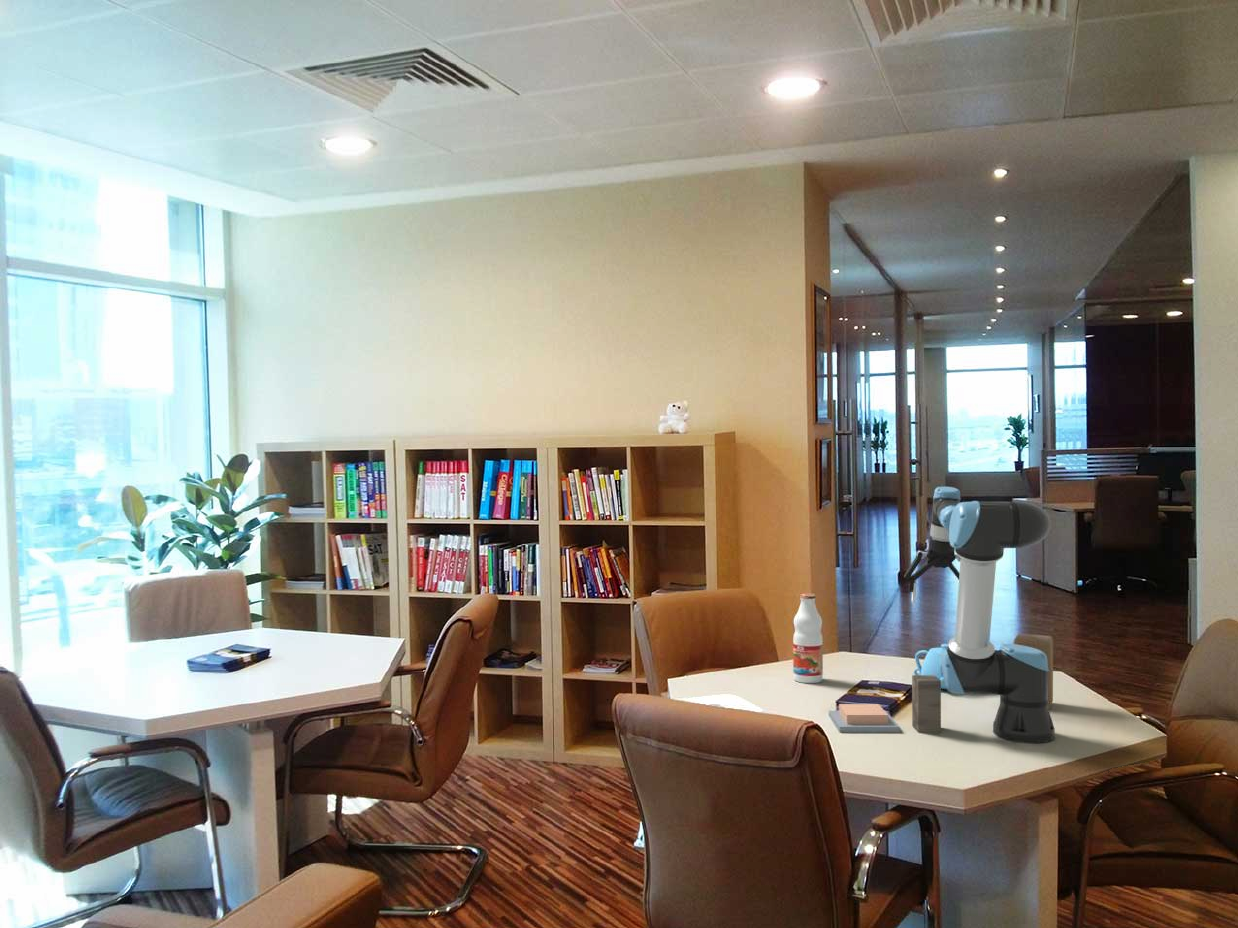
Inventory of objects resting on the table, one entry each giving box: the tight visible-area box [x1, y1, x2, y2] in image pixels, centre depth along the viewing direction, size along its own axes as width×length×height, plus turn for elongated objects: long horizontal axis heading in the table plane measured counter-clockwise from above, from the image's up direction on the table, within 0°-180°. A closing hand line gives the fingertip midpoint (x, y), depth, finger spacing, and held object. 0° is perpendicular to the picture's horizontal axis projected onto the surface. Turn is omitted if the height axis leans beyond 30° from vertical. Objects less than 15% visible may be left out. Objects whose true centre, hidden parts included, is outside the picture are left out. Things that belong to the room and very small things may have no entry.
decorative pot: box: [913, 643, 949, 690], centre depth 313 cm, size 16×16×14 cm
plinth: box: [828, 703, 901, 733], centre depth 274 cm, size 16×16×4 cm
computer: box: [676, 693, 765, 714], centre depth 285 cm, size 22×22×3 cm
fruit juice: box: [792, 593, 824, 684], centre depth 324 cm, size 9×9×28 cm
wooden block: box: [1013, 633, 1054, 710], centre depth 292 cm, size 10×10×20 cm
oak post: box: [911, 674, 942, 734], centre depth 268 cm, size 6×6×14 cm
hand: (936, 603), depth 306 cm, fingers open, 13 cm apart
